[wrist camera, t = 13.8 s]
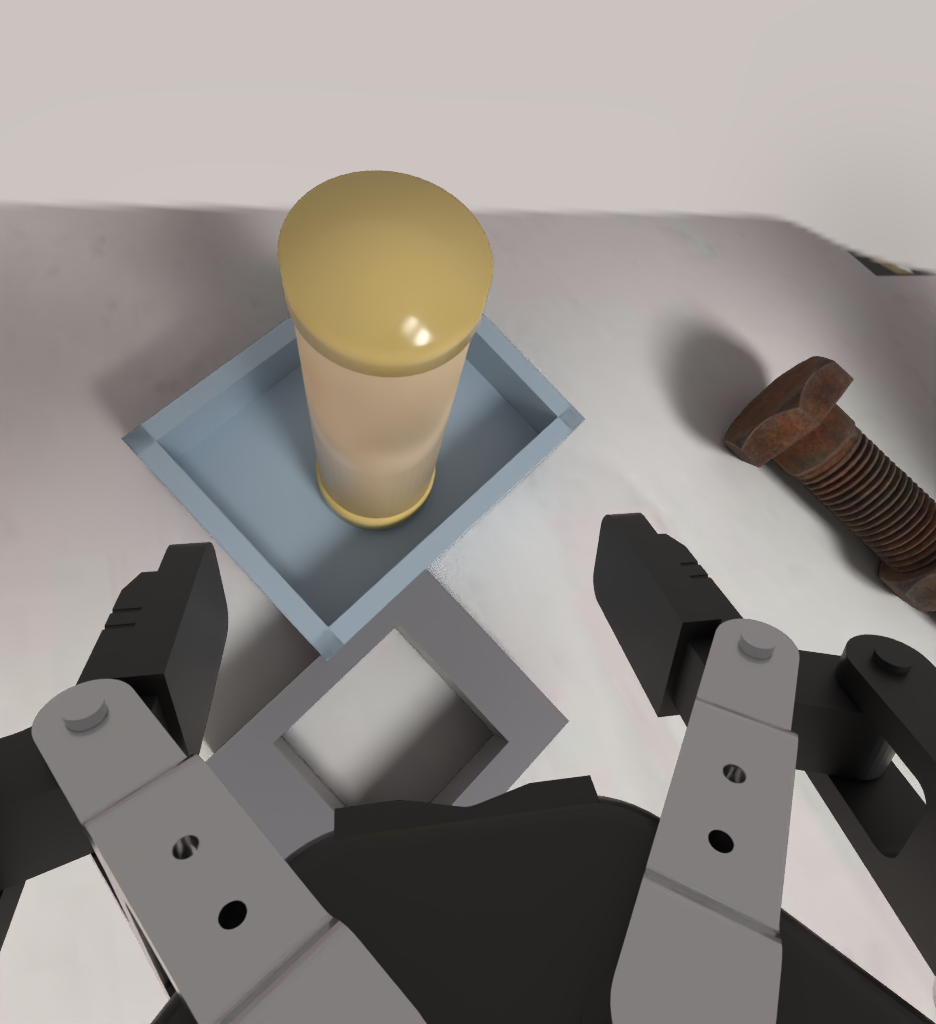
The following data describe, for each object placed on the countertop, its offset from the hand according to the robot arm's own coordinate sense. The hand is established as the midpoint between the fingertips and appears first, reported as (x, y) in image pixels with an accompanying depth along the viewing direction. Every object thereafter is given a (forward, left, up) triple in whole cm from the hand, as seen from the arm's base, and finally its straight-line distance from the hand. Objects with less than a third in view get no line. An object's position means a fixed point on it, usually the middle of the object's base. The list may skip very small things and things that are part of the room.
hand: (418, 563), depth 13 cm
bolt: (-19, +12, -13) cm, 26 cm away
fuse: (-3, -4, -12) cm, 13 cm away
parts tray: (-4, -5, -13) cm, 14 cm away
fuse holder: (+3, +4, -13) cm, 14 cm away
